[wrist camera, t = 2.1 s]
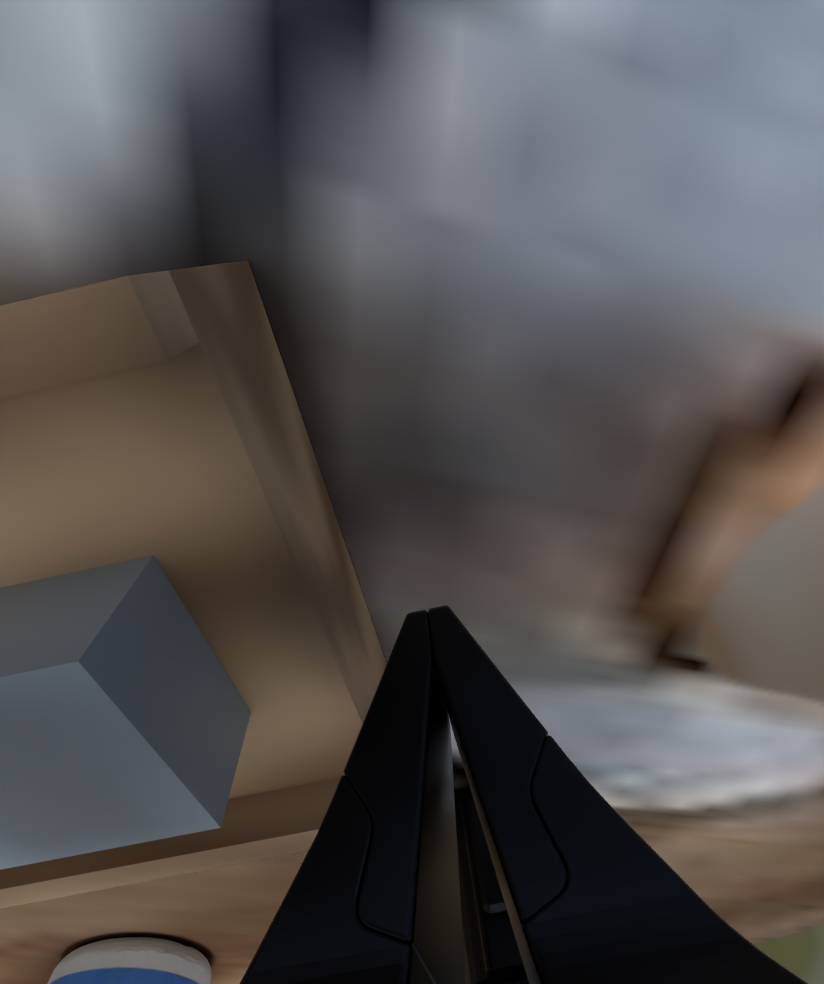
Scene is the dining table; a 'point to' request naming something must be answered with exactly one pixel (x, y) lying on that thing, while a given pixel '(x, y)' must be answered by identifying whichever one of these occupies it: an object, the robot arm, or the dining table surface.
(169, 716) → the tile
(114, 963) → the supplement tub
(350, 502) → the dining table surface
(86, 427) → the brown square tray
